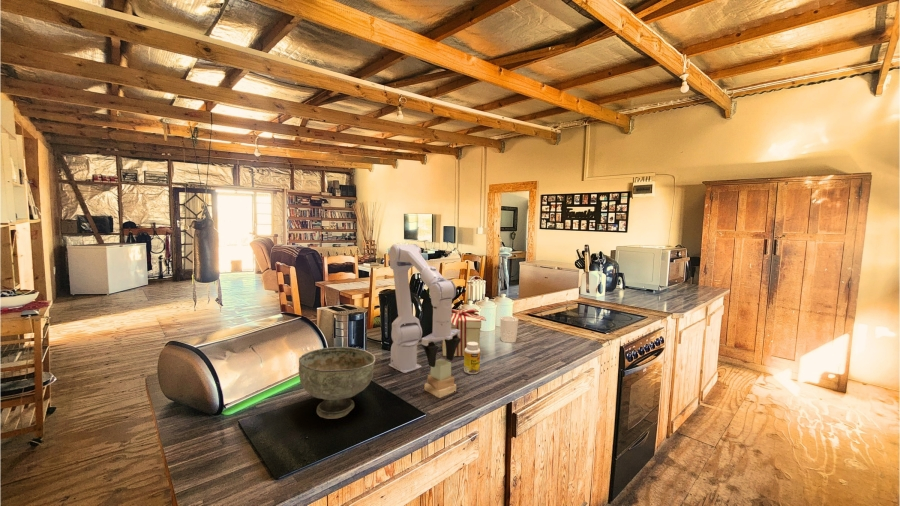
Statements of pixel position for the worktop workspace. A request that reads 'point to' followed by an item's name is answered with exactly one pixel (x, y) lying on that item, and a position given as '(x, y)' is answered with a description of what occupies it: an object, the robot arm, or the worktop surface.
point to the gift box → (465, 328)
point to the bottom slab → (439, 392)
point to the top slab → (440, 382)
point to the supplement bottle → (472, 358)
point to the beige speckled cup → (508, 328)
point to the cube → (441, 369)
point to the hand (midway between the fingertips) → (440, 362)
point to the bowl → (336, 377)
